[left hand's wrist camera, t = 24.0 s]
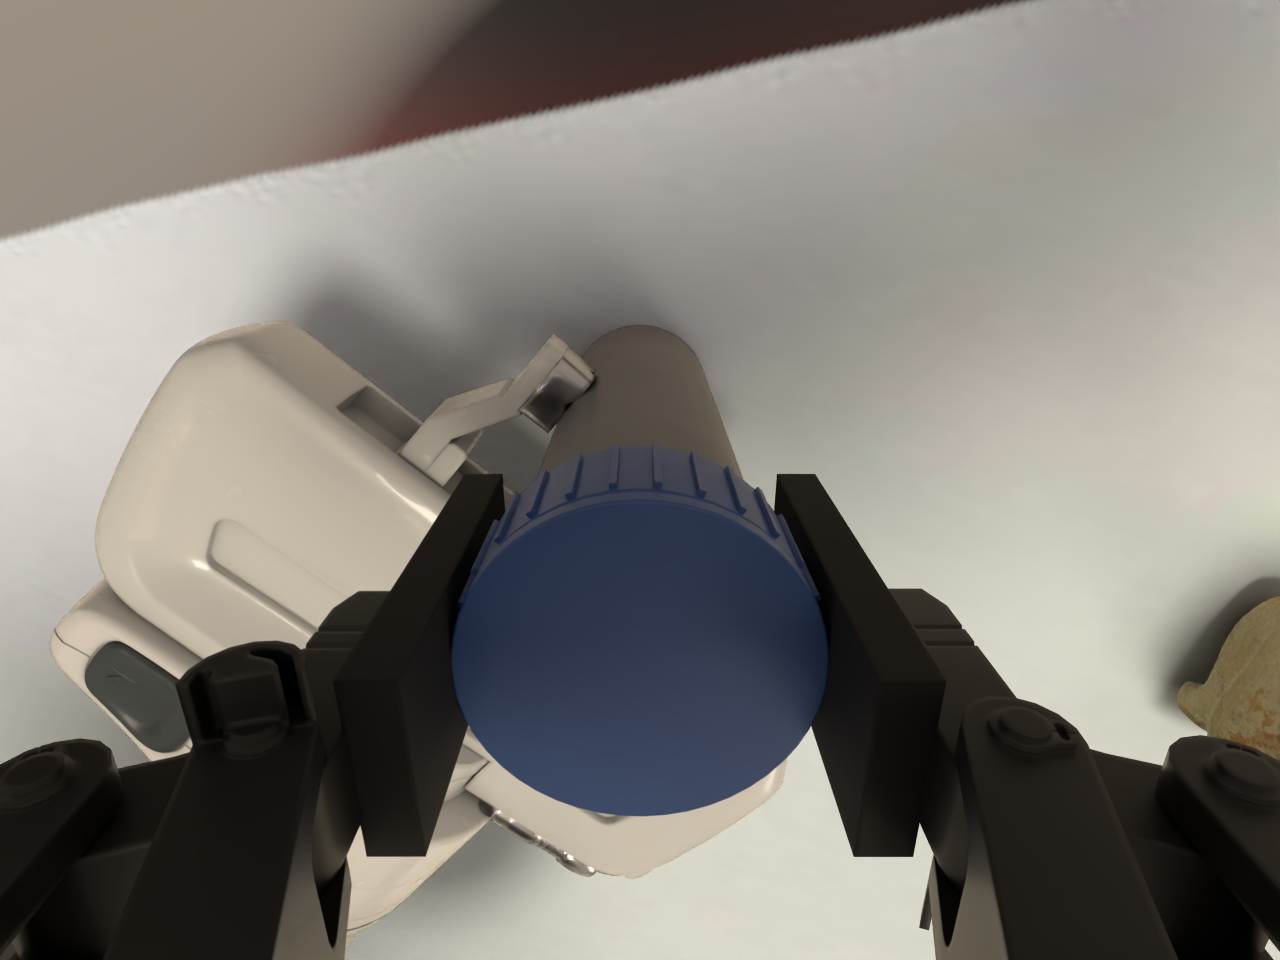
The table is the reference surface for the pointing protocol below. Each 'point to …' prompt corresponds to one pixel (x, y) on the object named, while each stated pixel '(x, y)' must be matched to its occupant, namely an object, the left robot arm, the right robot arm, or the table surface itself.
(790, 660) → the lid
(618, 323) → the table surface
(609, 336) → the jar
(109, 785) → the left robot arm
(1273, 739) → the sculpture
